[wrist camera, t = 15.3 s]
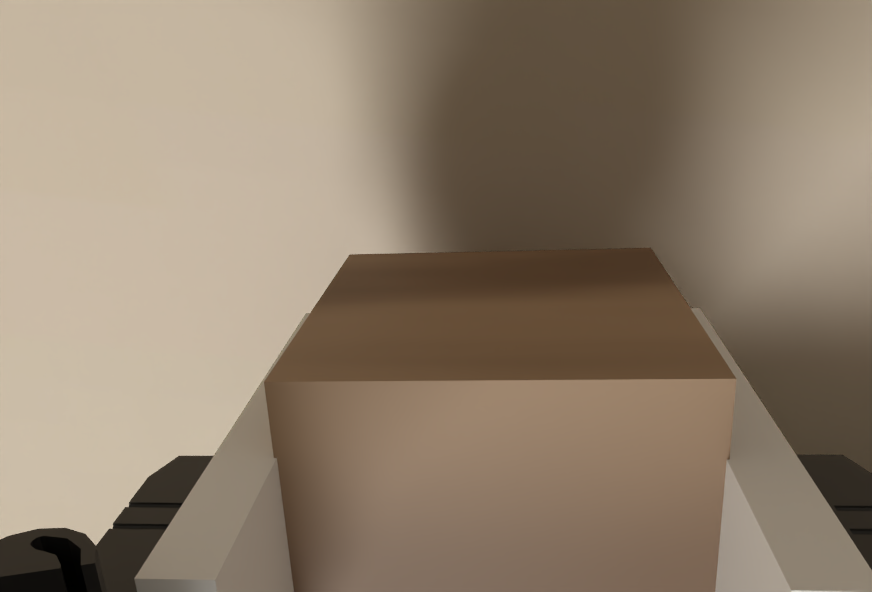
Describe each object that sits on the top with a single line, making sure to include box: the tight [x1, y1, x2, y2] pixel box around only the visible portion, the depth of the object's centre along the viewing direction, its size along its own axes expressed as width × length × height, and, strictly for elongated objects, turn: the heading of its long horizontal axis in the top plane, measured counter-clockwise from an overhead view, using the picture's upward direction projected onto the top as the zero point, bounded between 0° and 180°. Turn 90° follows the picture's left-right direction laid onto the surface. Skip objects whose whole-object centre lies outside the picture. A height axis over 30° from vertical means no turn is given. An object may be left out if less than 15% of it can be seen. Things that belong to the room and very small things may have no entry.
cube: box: [264, 248, 737, 592], centre depth 11 cm, size 5×5×5 cm
